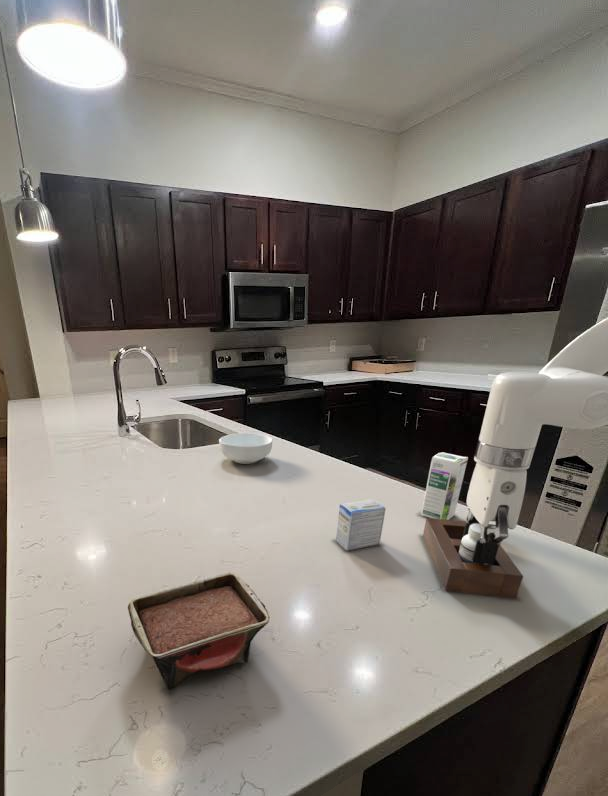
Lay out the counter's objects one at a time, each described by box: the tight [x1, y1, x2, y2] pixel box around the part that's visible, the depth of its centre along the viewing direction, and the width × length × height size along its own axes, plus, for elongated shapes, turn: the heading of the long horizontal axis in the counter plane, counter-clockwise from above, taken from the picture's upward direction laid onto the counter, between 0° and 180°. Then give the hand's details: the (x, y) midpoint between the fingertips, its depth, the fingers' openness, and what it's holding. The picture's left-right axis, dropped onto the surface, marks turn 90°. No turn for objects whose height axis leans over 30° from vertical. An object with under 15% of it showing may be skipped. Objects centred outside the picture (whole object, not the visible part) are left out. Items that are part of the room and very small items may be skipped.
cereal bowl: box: [218, 432, 273, 465], centre depth 134 cm, size 17×17×7 cm
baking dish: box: [127, 572, 270, 691], centre depth 58 cm, size 14×18×10 cm
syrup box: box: [420, 451, 469, 520], centre depth 95 cm, size 6×6×14 cm
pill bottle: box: [458, 524, 496, 565], centre depth 73 cm, size 5×5×10 cm
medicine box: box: [335, 498, 387, 551], centre depth 85 cm, size 8×4×9 cm, turn 108°
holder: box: [422, 517, 524, 600], centre depth 78 cm, size 11×19×4 cm, turn 167°
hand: (476, 552), depth 73 cm, fingers closed on pill bottle, 5 cm apart
